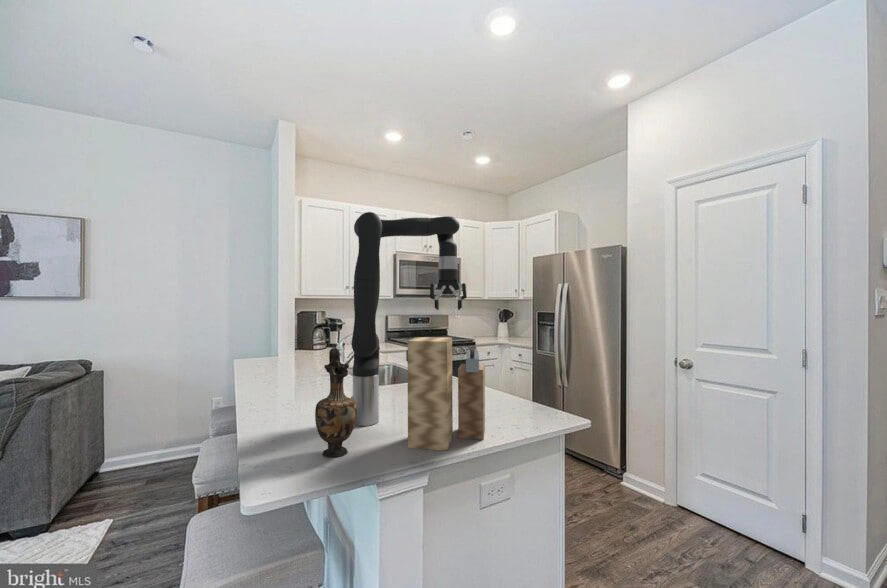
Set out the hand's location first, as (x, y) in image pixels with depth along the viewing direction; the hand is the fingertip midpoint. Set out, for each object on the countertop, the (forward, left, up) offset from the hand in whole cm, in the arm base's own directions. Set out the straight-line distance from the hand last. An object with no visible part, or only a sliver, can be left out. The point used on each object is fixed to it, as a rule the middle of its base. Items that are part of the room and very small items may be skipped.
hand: (448, 309), depth 151 cm
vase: (-27, -43, -40) cm, 65 cm away
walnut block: (+11, -22, -40) cm, 47 cm away
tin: (+11, -21, -18) cm, 30 cm away
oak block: (-1, -31, -40) cm, 51 cm away
